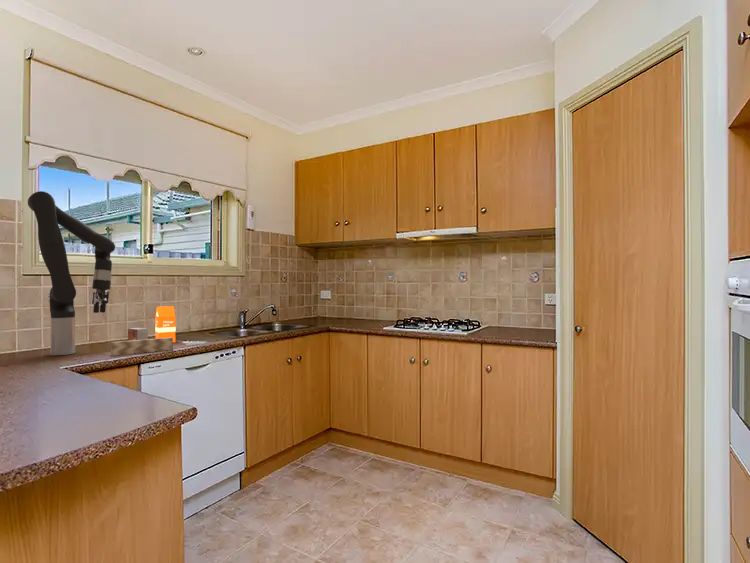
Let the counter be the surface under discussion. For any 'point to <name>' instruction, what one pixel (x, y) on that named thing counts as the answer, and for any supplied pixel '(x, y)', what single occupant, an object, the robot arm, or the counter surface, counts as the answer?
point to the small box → (137, 333)
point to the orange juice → (165, 322)
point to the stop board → (141, 346)
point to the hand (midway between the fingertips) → (99, 312)
